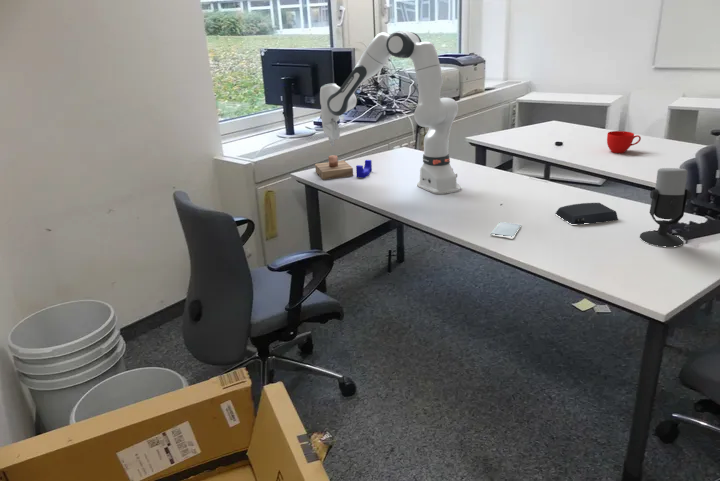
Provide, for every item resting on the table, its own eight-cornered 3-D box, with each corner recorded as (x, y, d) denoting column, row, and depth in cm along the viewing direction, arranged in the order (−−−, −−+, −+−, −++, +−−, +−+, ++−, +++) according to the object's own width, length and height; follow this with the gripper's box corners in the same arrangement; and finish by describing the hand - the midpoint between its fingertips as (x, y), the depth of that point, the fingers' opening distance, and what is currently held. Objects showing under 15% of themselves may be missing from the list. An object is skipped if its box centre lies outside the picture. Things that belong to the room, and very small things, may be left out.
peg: (339, 173, 263) (338, 157, 259) (330, 174, 262) (329, 158, 258) (337, 170, 267) (336, 154, 263) (328, 171, 266) (327, 156, 262)
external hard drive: (553, 215, 200) (554, 205, 198) (597, 209, 203) (599, 200, 201) (572, 227, 188) (573, 217, 187) (619, 221, 191) (621, 211, 190)
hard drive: (513, 236, 179) (521, 224, 189) (490, 233, 183) (499, 221, 193) (513, 241, 180) (521, 228, 190) (490, 237, 184) (499, 225, 194)
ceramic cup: (642, 154, 270) (645, 136, 266) (608, 154, 273) (611, 136, 269) (634, 148, 282) (637, 130, 278) (601, 148, 285) (604, 131, 281)
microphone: (673, 232, 179) (689, 163, 169) (689, 248, 167) (707, 175, 157) (634, 231, 181) (647, 163, 171) (647, 247, 169) (662, 175, 159)
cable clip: (364, 178, 255) (364, 166, 253) (356, 177, 257) (356, 165, 254) (374, 171, 265) (374, 160, 262) (366, 170, 267) (366, 159, 264)
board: (353, 175, 259) (352, 167, 258) (322, 179, 255) (322, 171, 254) (344, 167, 273) (344, 160, 272) (315, 171, 269) (315, 164, 268)
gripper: (341, 120, 244) (343, 148, 250) (331, 113, 262) (333, 140, 268) (329, 121, 243) (331, 150, 248) (319, 114, 261) (321, 141, 266)
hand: (332, 144), depth 258 cm, fingers closed
